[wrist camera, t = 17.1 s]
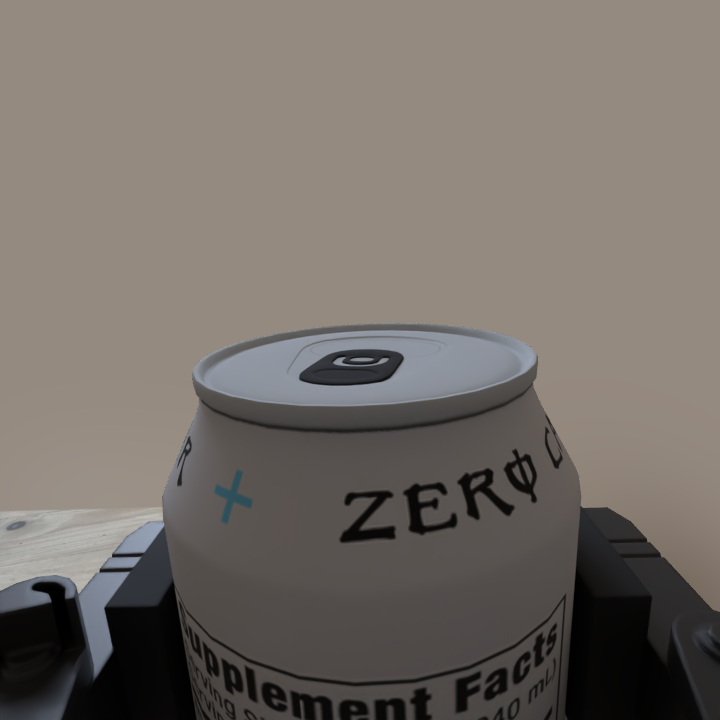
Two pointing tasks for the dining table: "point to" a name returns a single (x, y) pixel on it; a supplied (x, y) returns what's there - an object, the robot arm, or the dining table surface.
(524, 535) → the energy drink can
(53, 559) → the dining table surface
